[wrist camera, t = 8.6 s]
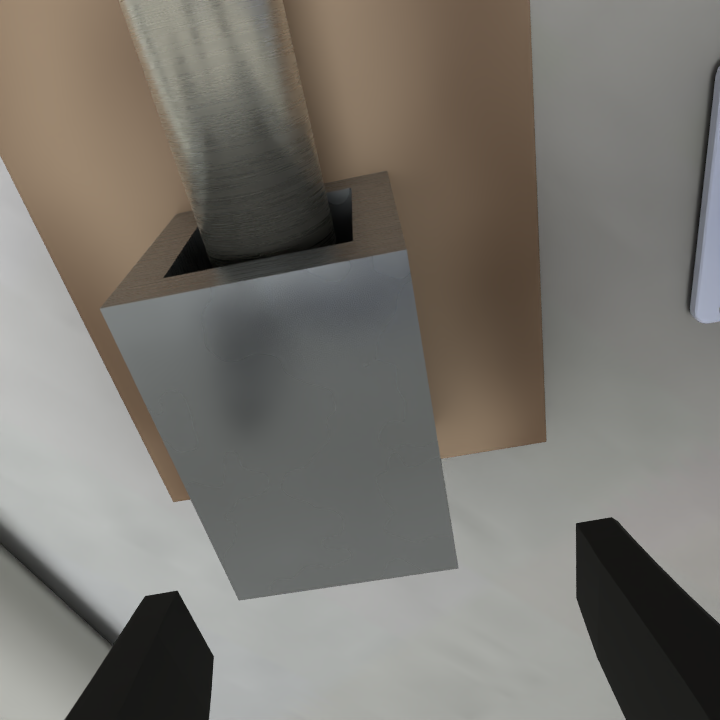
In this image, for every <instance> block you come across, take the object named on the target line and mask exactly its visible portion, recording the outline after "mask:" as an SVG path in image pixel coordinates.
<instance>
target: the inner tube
mask: <svg viewBox="0 0 720 720" xmlns="http://www.w3.org/2000/svg"><path fill="white" fill-rule="evenodd" d="M119 3H120V6H121V9H122V11H123V14H124V17H125V20H126V23H127V26H128V29H129V31H130V34H131V37H132V40H133V43H134V46H135V48H136V51H137V54H138V57H139V60H140V63H141V66H142V68H143V71H144V74H145V77H146V80H147V83H148V86H149V88H150V91H151V94H152V97H153V100H154V103H155V105H156V108H157V111H158V114H159V117H160V120H161V123H162V125H163V128H164V131H165V134H166V137H167V140H168V143H169V145H170V148H171V151H172V154H173V157H174V160H175V163H176V165H177V168H178V171H179V174H180V177H181V180H182V182H183V185H184V188H185V191H186V194H187V197H188V200H189V202H190V205H191V208H192V211H193V214H194V217H195V220H196V222H197V225H198V228H199V231H200V234H201V237H202V240H203V242H204V245H205V248H206V251H207V254H208V257H209V259H210V262H211V265H212V268H218V267H223V266H229V265H234V264H239V263H244V262H249V261H254V260H259V259H264V258H269V257H275V256H280V255H285V254H290V253H295V252H300V251H305V250H310V249H315V248H321V247H326V246H331V245H335V244H336V235H335V230H334V226H333V222H332V217H331V213H330V208H329V204H328V199H327V195H326V191H325V186H324V182H323V177H322V173H321V168H320V164H319V160H318V155H317V151H316V146H315V142H314V138H313V133H312V129H311V124H310V120H309V115H308V111H307V107H306V102H305V98H304V93H303V89H302V84H301V80H300V76H299V71H298V67H297V62H296V58H295V53H294V49H293V45H292V40H291V36H290V31H289V27H288V22H287V18H286V14H285V9H284V5H283V0H119Z"/></svg>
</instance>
